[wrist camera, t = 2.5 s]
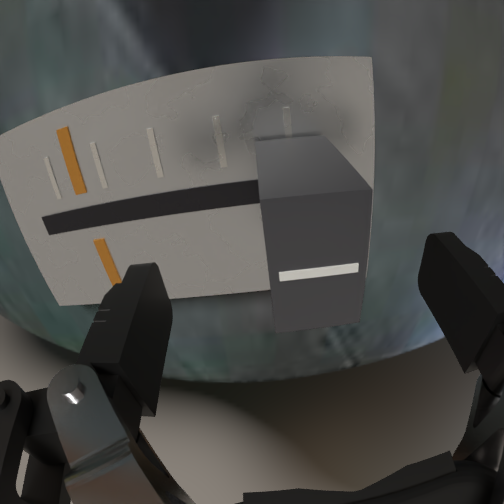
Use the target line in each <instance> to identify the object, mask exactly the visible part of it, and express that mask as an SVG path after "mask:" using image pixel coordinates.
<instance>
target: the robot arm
mask: <svg viewBox="0 0 504 504" xmlns="http://www.w3.org/2000/svg"><path fill="white" fill-rule="evenodd" d="M418 286H419V290H420V293H421V295H422V297H423V299H424V300H425V302H426V304H427V305H428V307H429V309H430V310H431V312H432V314H433V316H434V317H435V319H436V321H437V323H438V324H439V326H440V328H441V330H442V331H443V333H444V335H445V337H446V339H447V340H448V342H449V344H450V346H451V348H452V350H453V352H454V354H455V355H456V358H457V359H458V362H459V364H460V365H461V367H462V369H463V371H464V373H468V372H471V371H474V370H477V369H479V370H480V373H481V374H480V376H479V377H478V379H477V383H476V388H475V393H474V397H473V402H472V407H471V411H470V415H469V419H468V423H467V427H466V431H465V434H464V436H463V438H462V440H461V442H460V444H459V445H458V447H457V448H456V450H455V452H454V454H453V456H451V453H450V451H448V452H445V453H442V454H440V455H437V456H434V457H432V458H429V459H426V460H423V461H420V462H417V463H414V464H410V465H407V466H405V467H403V468H402V469H400V470H398V471H396V472H395V473H393V474H391V475H389V476H387V477H386V478H384V479H382V480H380V481H378V482H376V483H374V484H372V485H371V486H368V487H366V488H364V489H362V490H359V491H354V492H344V491H323V490H310V489H299V488H298V489H290V490H281V491H268V492H252V493H243V502H240V503H236V504H504V283H503V282H502V281H501V280H500V279H499V277H498V276H495V273H494V271H493V270H492V269H491V268H490V267H489V268H488V264H487V263H486V262H485V261H484V260H483V259H482V258H481V256H480V255H479V254H477V253H476V252H474V251H473V250H471V249H470V248H468V247H466V246H465V245H464V244H463V243H462V242H461V240H460V239H459V238H458V237H457V236H456V235H455V234H454V233H452V232H443V233H434V234H430V235H429V236H428V237H427V239H426V243H425V248H424V252H423V257H422V262H421V266H420V270H419V274H418ZM98 310H99V311H98V312H97V313H96V315H95V317H94V323H92V324H91V327H90V329H89V332H88V334H87V336H86V339H85V341H84V344H83V346H82V349H81V351H80V354H79V356H78V359H77V362H76V364H75V365H71V366H68V367H66V368H64V369H62V370H60V371H59V372H58V373H57V374H56V375H55V376H54V377H53V379H52V380H51V382H50V384H49V386H48V388H43V389H39V390H34V391H30V392H24V391H23V390H22V389H21V388H20V386H19V385H18V384H17V383H15V382H14V381H11V380H5V381H2V382H0V504H70V502H71V501H72V502H73V504H195V503H194V501H193V500H192V499H191V498H190V497H189V496H188V494H187V493H186V492H185V491H184V490H183V489H182V488H181V487H180V486H179V485H178V484H177V482H176V481H175V480H174V478H173V477H172V476H171V474H170V473H169V472H168V470H167V469H166V467H165V466H164V464H163V463H162V461H161V460H160V459H159V457H158V456H157V454H156V453H155V451H154V450H153V448H152V447H151V445H150V443H149V442H148V440H147V439H146V437H145V435H144V434H143V432H142V431H141V429H140V428H139V426H140V420H141V416H152V417H155V415H156V409H157V403H158V397H159V391H160V385H161V379H162V374H163V368H164V363H165V357H166V352H167V347H168V341H169V336H170V331H171V326H172V318H173V316H172V306H171V302H170V299H169V297H168V294H167V291H166V288H165V285H164V282H163V279H162V276H161V273H160V270H159V267H158V265H157V264H156V263H155V262H152V263H143V264H133V265H130V266H129V267H128V269H127V271H126V274H125V276H124V278H123V280H122V283H116V284H115V285H114V286H113V287H112V288H111V289H110V290H109V291H108V292H107V293H106V294H105V295H104V297H103V299H102V302H101V304H100V306H99V308H98ZM23 450H24V451H25V452H27V453H28V454H30V455H29V459H28V464H27V469H26V474H25V479H24V484H23V490H22V495H21V497H19V495H18V493H17V491H16V479H17V474H18V469H19V465H20V460H21V456H22V452H23Z"/></svg>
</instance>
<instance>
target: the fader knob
mask: <svg viewBox="0 0 504 504" xmlns="http://www.w3.org/2000/svg"><path fill="white" fill-rule="evenodd" d="M255 151H256V162H257V174H258V186H259V198H260V206H261V215H262V223H263V231H264V239H265V247H266V256H267V264H268V273H269V281H270V290H271V298H272V307H273V316H274V325H275V333H281V332H291V331H299V330H307V329H315V328H323V327H330V326H338V325H345V324H351V323H358V322H360V317H361V310H362V303H363V295H364V287H365V279H366V270H367V261H368V251H369V240H370V228H371V213H372V196H373V189H372V188H371V187H370V185H369V184H368V183H367V182H366V181H365V180H364V178H363V177H362V176H361V175H360V174H359V173H358V172H357V170H356V169H355V168H354V167H353V166H352V165H351V164H350V163H349V161H348V160H347V159H346V158H345V157H344V156H343V155H342V154H341V153H340V152H339V150H338V149H337V148H336V147H335V146H334V145H333V144H332V143H331V142H330V141H329V140H328V139H327V138H326V137H325V136H324V135H322V136H308V137H296V138H284V139H274V140H265V141H256V142H255Z"/></svg>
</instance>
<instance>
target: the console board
mask: <svg viewBox="0 0 504 504" xmlns="http://www.w3.org/2000/svg"><path fill="white" fill-rule="evenodd" d="M322 135H324V136H325V137H326V138H327V139H328V140H329V141H330V142H331V143H332V144H333V145H334V146H335V147H336V148H337V149H338V150H339V152H340V153H341V154H342V155H343V156H344V157H345V158H346V159H347V160H348V161H349V163H350V164H351V165H352V166H353V167H354V168H355V169H356V170H357V172H358V173H359V174H360V175H361V176H362V177H363V178H364V180H365V181H366V182H367V183H368V184H369V185H370V187H371V188H372V189H373V188H374V154H375V120H374V87H373V69H372V57H353V56H323V57H296V58H281V59H269V60H259V61H250V62H241V63H234V64H227V65H220V66H214V67H208V68H202V69H197V70H191V71H186V72H181V73H177V74H172V75H167V76H163V77H159V78H155V79H151V80H147V81H143V82H139V83H135V84H132V85H128V86H125V87H121V88H118V89H114V90H111V91H108V92H105V93H102V94H99V95H96V96H93V97H90V98H87V99H84V100H81V101H78V102H75V103H73V104H70V105H67V106H65V107H62V108H60V109H57V110H55V111H52V112H50V113H47V114H45V115H43V116H40V117H38V118H36V119H33V120H31V121H29V122H27V123H24V124H22V125H20V126H18V127H16V128H14V129H12V130H10V131H8V132H6V133H4V134H2V135H0V179H1V182H2V185H3V187H4V190H5V193H6V195H7V198H8V201H9V203H10V206H11V208H12V211H13V213H14V215H15V218H16V220H17V223H18V225H19V227H20V229H21V232H22V234H23V236H24V238H25V241H26V243H27V245H28V247H29V249H30V251H31V253H32V255H33V257H34V259H35V261H36V263H37V265H38V267H39V269H40V271H41V273H42V275H43V277H44V279H45V281H46V282H47V284H48V286H49V288H50V290H51V291H52V293H53V295H54V297H55V299H56V300H57V302H58V304H59V305H60V306H63V305H84V304H101V302H102V299H103V297H104V295H105V294H106V293H107V292H108V291H109V290H110V289H111V288H112V287H113V286H114V285H115V284H116V283H122V280H123V278H124V276H125V274H126V271H127V269H128V267H129V266H130V265H133V264H143V263H152V262H155V263H156V264H157V265H158V267H159V270H160V273H161V276H162V279H163V282H164V285H165V288H166V291H167V294H168V297H169V299H175V298H187V297H199V296H211V295H221V294H232V293H242V292H252V291H262V290H270V281H269V273H268V264H267V256H266V247H265V239H264V231H263V223H262V215H261V206H260V198H259V186H258V174H257V162H256V151H255V142H256V141H265V140H274V139H284V138H296V137H308V136H322ZM372 207H373V196H372ZM371 222H372V213H371ZM370 235H371V228H370ZM369 247H370V240H369ZM368 257H369V251H368ZM367 267H368V261H367ZM366 275H367V270H366Z"/></svg>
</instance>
